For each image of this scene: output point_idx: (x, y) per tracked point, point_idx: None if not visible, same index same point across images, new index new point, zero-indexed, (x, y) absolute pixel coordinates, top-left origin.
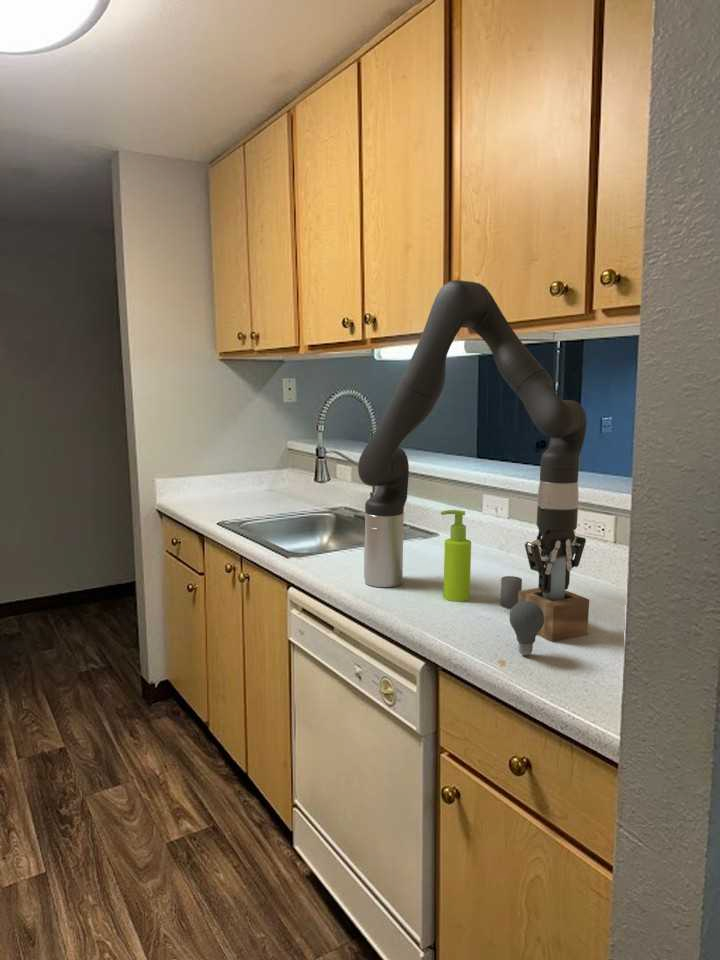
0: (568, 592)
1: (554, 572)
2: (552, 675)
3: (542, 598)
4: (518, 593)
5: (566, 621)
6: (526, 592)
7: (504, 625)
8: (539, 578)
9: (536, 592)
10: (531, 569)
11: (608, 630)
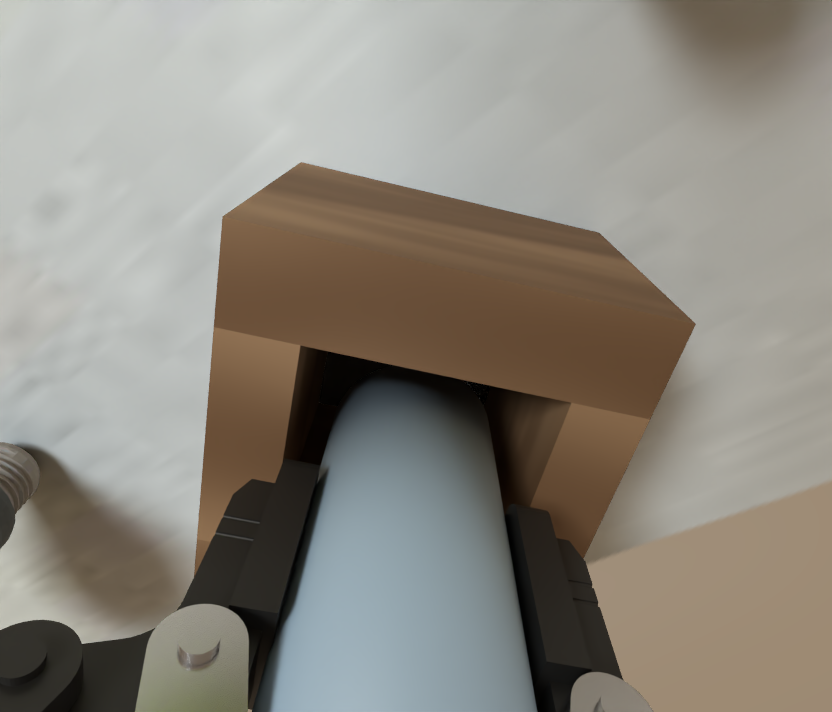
0: (580, 515)
1: None
2: (3, 606)
3: (257, 476)
4: (231, 211)
5: None
6: (267, 294)
7: (216, 109)
8: (200, 571)
9: (351, 355)
10: (20, 628)
11: (634, 522)
